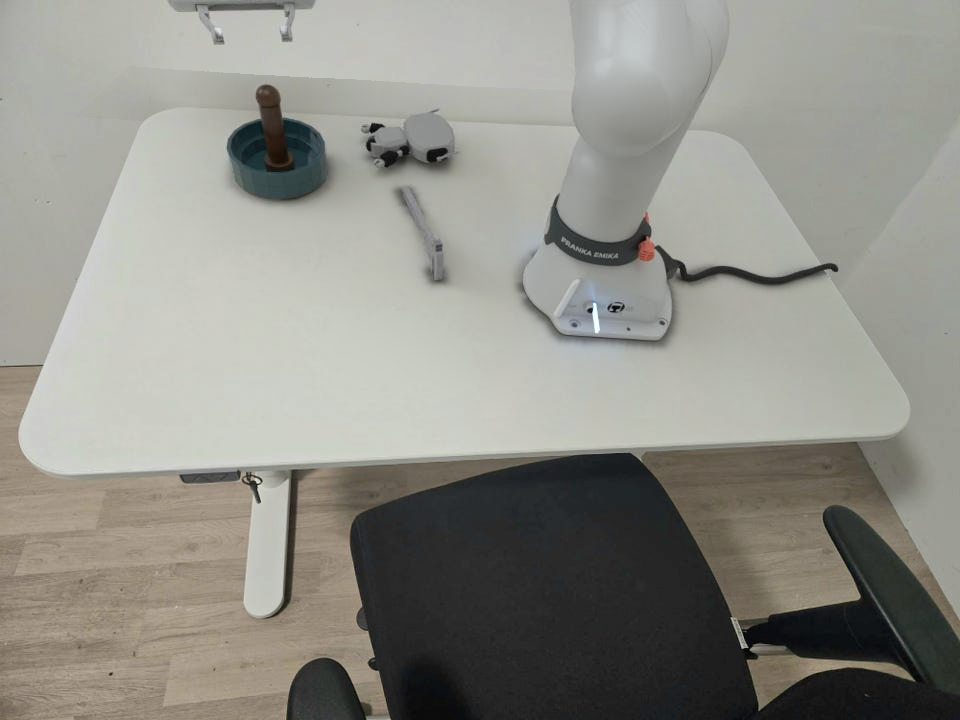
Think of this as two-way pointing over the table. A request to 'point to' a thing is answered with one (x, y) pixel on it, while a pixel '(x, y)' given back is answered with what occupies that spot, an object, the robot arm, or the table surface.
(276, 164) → the pestle
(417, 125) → the robot toy
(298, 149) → the bowl
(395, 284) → the table surface
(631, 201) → the robot arm
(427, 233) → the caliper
